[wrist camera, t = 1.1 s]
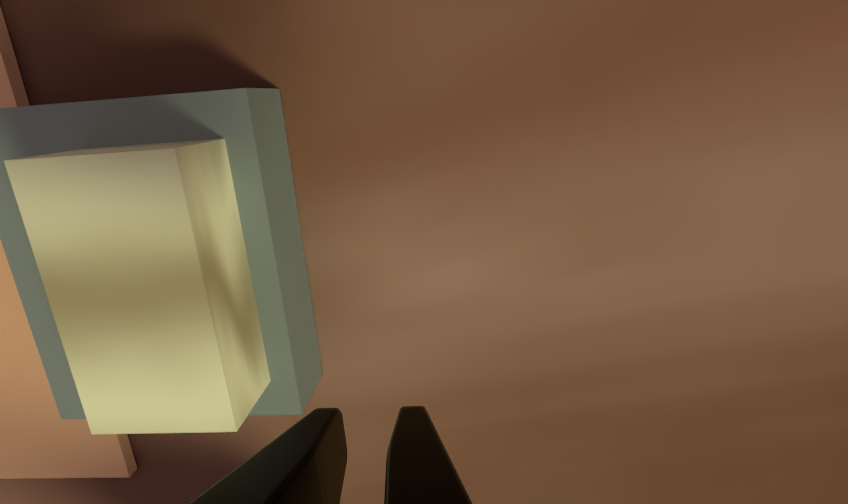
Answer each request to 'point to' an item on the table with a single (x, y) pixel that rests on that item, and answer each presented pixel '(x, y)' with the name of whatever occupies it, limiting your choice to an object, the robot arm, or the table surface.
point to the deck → (256, 199)
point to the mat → (40, 373)
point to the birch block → (147, 283)
